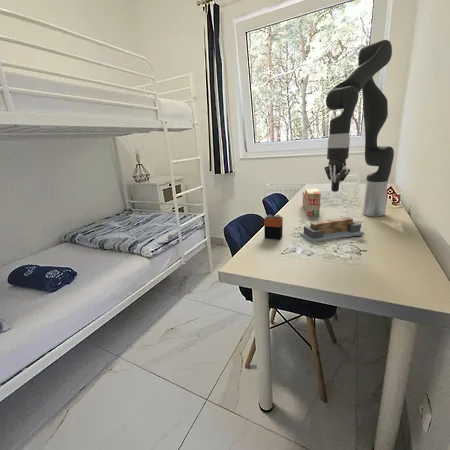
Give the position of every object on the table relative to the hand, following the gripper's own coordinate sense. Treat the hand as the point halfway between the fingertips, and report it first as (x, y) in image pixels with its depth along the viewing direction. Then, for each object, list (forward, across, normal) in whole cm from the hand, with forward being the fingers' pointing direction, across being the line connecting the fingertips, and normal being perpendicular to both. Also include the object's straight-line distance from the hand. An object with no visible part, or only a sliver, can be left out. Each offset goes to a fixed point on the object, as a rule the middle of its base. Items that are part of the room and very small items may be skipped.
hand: (334, 191), depth 101 cm
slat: (+18, 0, 0) cm, 18 cm away
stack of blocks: (+19, -36, +12) cm, 42 cm away
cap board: (+18, 0, 0) cm, 19 cm away
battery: (+19, -6, -24) cm, 31 cm away
